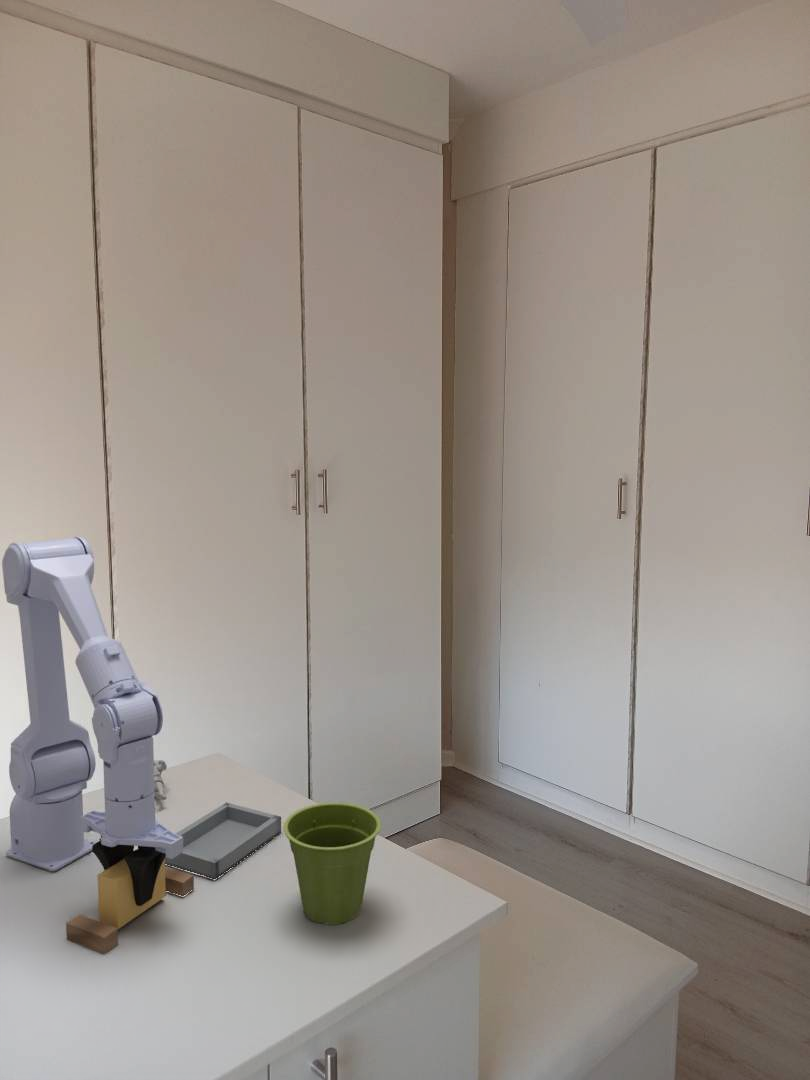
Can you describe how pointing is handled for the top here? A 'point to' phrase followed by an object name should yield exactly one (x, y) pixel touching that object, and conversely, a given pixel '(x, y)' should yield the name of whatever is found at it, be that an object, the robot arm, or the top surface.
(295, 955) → the top surface
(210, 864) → the tray
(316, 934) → the top surface
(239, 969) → the top surface
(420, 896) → the top surface
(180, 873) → the brown block pair
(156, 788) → the soldier figure
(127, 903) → the block
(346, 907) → the plant pot
